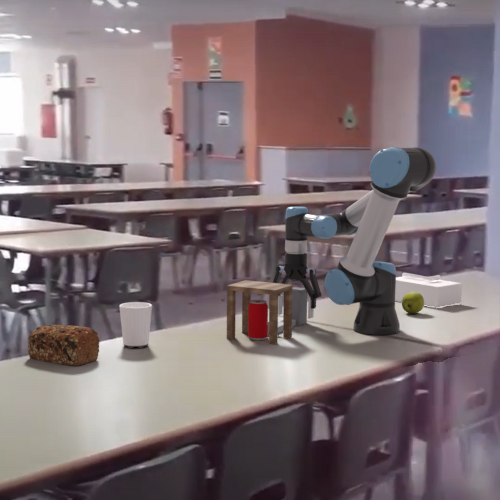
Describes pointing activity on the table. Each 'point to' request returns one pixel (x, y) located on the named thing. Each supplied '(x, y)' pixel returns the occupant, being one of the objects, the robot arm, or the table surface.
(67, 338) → the bread
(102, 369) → the table surface
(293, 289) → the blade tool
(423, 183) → the robot arm
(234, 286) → the small wooden table
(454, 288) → the tissue box
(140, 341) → the cup
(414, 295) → the apple
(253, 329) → the beverage can
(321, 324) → the table surface
